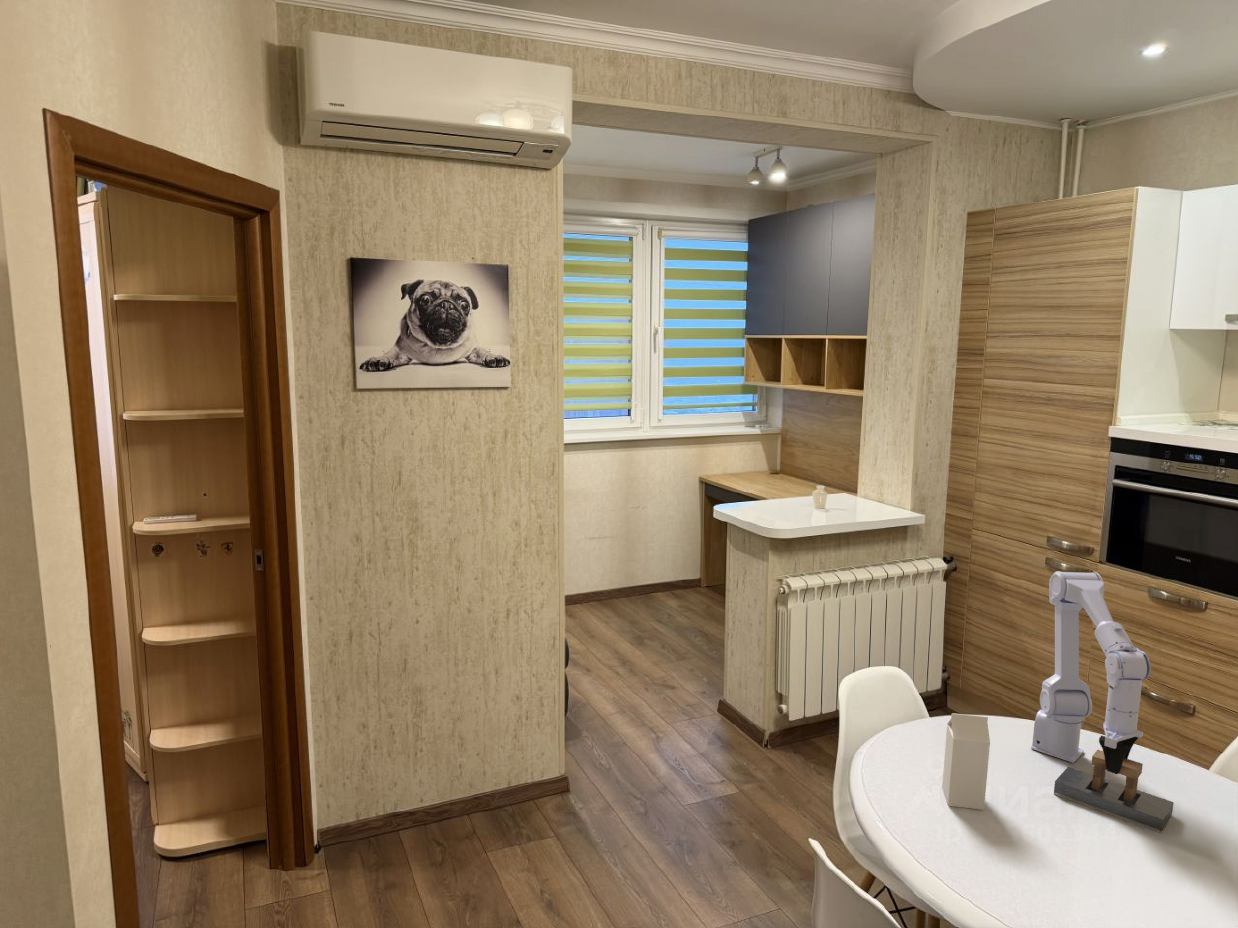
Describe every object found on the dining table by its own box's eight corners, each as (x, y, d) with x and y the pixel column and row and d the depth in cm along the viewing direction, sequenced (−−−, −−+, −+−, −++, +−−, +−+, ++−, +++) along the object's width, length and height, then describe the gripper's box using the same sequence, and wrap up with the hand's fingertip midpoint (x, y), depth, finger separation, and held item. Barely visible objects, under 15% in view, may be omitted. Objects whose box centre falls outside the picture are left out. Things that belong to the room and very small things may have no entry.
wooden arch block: (1089, 786, 175) (1092, 755, 174) (1094, 779, 178) (1097, 749, 177) (1134, 802, 170) (1137, 770, 168) (1139, 794, 172) (1142, 763, 171)
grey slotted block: (1053, 793, 178) (1055, 780, 178) (1066, 778, 184) (1068, 766, 184) (1161, 833, 164) (1163, 819, 164) (1171, 815, 171) (1173, 802, 170)
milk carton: (984, 810, 171) (991, 724, 168) (947, 806, 173) (955, 720, 170) (976, 792, 178) (983, 709, 175) (941, 788, 180) (948, 706, 177)
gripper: (1135, 724, 163) (1128, 788, 165) (1153, 702, 174) (1146, 763, 176) (1096, 713, 168) (1089, 775, 170) (1115, 692, 178) (1109, 751, 180)
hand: (1115, 768), depth 173 cm, fingers closed on wooden arch block, 4 cm apart
